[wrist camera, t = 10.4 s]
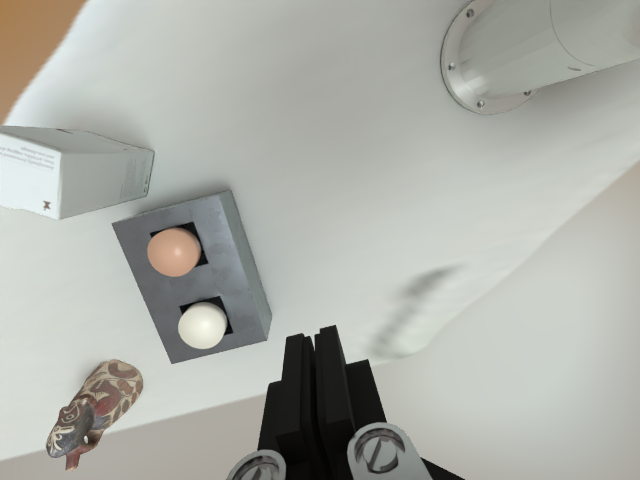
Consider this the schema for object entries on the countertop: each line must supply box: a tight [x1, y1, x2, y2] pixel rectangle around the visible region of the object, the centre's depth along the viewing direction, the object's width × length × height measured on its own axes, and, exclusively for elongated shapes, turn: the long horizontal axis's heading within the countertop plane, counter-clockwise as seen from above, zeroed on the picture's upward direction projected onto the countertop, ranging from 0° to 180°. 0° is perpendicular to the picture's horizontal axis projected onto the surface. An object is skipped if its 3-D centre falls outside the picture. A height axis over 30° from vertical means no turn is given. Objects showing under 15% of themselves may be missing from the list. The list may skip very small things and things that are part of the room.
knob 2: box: [178, 296, 227, 349], centre depth 40 cm, size 5×5×8 cm
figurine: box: [46, 359, 143, 471], centre depth 41 cm, size 7×7×12 cm
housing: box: [111, 190, 272, 364], centre depth 40 cm, size 12×18×6 cm, turn 14°
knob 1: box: [147, 223, 203, 277], centre depth 38 cm, size 5×5×8 cm
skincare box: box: [0, 126, 154, 220], centre depth 32 cm, size 8×6×15 cm
